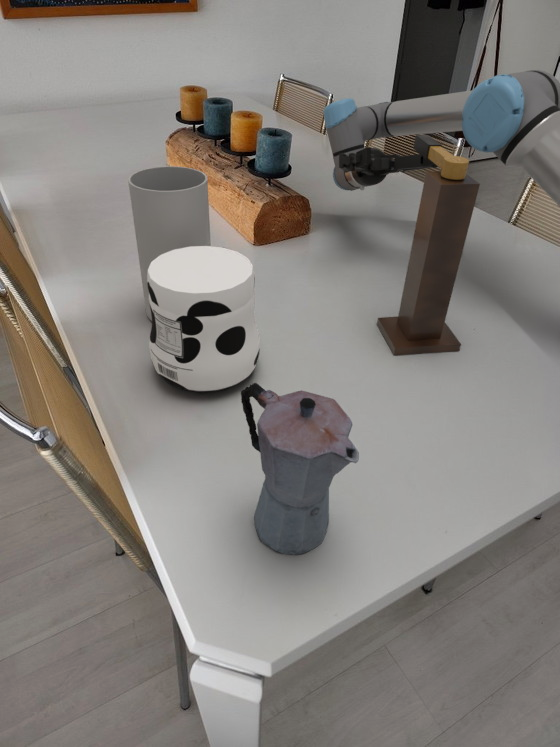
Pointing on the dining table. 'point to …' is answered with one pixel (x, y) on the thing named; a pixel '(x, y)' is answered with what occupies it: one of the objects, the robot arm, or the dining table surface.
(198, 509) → the dining table surface
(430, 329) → the stand
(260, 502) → the moka pot
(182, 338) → the milk container
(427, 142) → the lever
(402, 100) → the robot arm
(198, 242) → the cylinder vase
